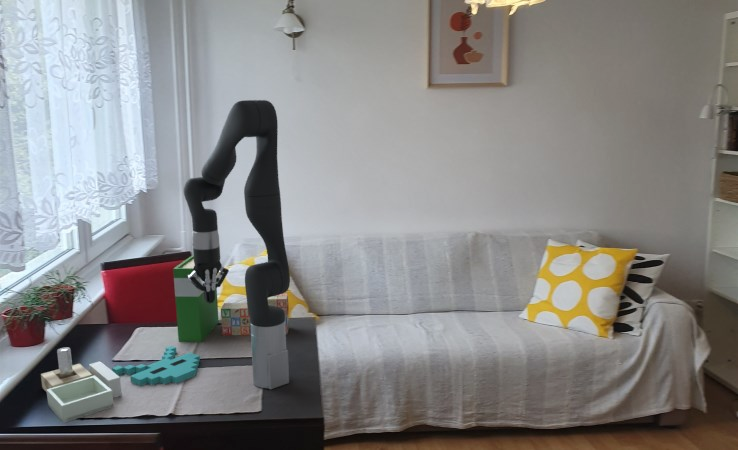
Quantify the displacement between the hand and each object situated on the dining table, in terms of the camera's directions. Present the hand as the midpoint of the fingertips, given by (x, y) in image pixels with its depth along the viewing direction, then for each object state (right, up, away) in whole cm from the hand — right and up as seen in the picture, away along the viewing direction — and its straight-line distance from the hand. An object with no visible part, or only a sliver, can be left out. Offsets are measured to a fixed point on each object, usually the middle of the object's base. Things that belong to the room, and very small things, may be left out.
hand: (209, 302), depth 192 cm
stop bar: (-24, -21, -18) cm, 36 cm away
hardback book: (-9, -13, +23) cm, 28 cm away
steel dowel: (-34, -21, -17) cm, 43 cm away
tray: (-26, -23, -28) cm, 44 cm away
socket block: (-34, -21, -17) cm, 43 cm away
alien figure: (-11, -19, -7) cm, 23 cm away
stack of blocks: (+10, -13, +23) cm, 28 cm away
